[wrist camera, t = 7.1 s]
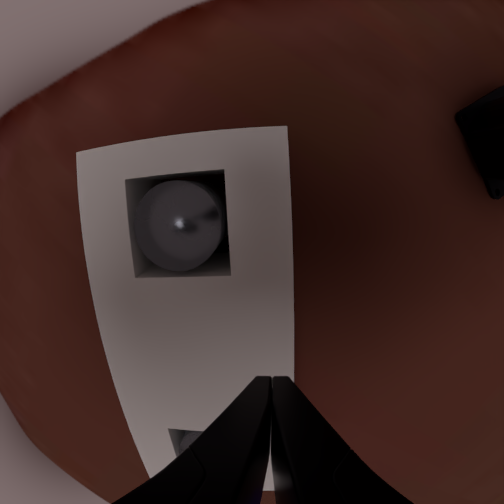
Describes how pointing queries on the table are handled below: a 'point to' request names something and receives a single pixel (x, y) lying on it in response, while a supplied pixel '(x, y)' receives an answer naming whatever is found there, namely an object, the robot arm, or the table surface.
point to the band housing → (190, 282)
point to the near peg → (181, 223)
